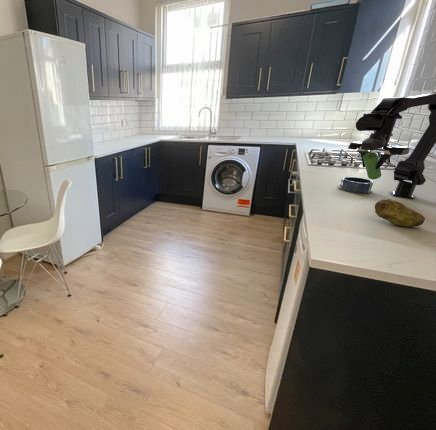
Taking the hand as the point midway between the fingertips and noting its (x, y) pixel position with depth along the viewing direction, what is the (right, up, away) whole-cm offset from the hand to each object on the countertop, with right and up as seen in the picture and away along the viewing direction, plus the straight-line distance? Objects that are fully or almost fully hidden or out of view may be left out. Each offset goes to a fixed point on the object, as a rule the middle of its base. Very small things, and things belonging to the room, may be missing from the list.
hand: (370, 168), depth 120 cm
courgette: (+5, -3, +3) cm, 7 cm away
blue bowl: (+6, -8, +15) cm, 18 cm away
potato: (-12, -23, -22) cm, 35 cm away
